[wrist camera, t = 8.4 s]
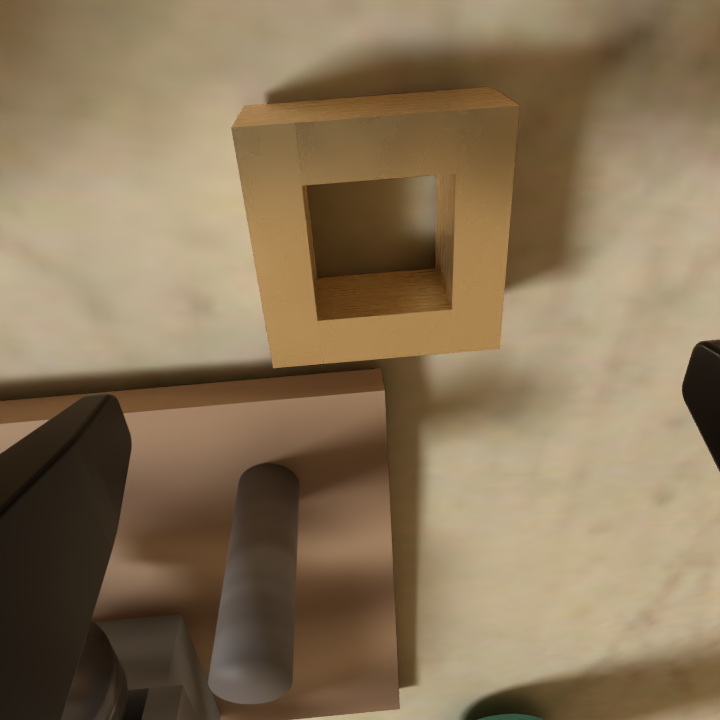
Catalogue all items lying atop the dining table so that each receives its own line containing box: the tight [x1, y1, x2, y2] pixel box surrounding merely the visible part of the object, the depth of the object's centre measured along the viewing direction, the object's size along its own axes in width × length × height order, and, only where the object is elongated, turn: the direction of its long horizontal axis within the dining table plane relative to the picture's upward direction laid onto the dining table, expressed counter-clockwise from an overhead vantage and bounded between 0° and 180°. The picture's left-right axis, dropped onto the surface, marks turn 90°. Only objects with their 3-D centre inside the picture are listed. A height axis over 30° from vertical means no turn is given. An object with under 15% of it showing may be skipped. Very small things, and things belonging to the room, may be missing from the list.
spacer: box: [232, 87, 520, 368], centre depth 15 cm, size 6×6×2 cm
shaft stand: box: [0, 368, 400, 720], centre depth 20 cm, size 19×15×9 cm
